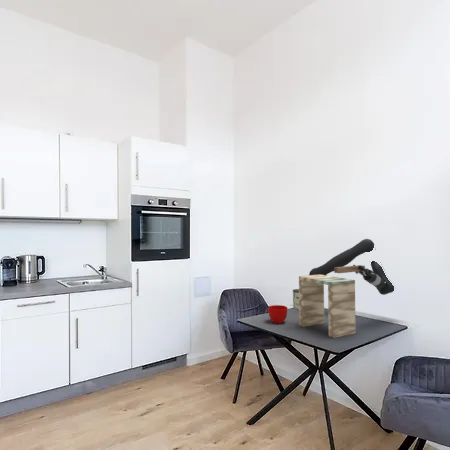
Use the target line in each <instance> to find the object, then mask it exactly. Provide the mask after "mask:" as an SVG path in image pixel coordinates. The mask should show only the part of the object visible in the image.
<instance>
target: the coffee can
mask: <svg viewBox="0 0 450 450" xmlns="http://www.w3.org/2000/svg"><path fill="white" fill-rule="evenodd" d="M292 308H293V309H294V310H299V288H296V289H294V288H293V289H292Z"/></svg>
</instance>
